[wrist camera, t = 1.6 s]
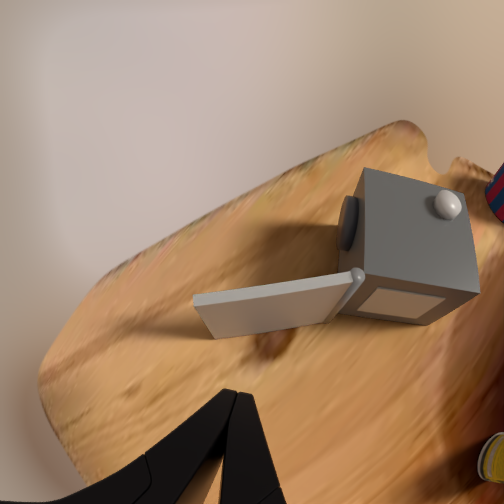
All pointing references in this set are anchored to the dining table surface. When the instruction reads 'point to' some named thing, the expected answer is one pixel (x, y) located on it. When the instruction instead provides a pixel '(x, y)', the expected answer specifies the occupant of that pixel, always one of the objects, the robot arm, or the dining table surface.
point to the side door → (276, 304)
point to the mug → (496, 193)
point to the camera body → (406, 249)
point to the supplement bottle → (492, 459)
